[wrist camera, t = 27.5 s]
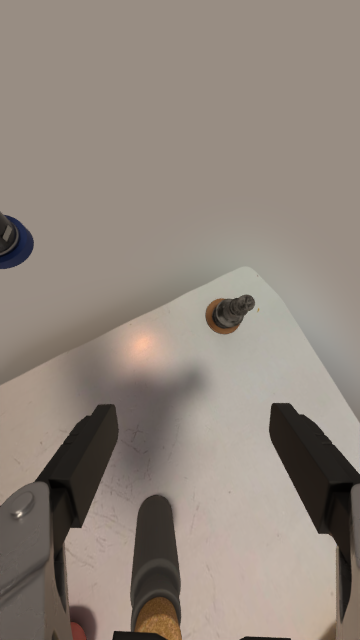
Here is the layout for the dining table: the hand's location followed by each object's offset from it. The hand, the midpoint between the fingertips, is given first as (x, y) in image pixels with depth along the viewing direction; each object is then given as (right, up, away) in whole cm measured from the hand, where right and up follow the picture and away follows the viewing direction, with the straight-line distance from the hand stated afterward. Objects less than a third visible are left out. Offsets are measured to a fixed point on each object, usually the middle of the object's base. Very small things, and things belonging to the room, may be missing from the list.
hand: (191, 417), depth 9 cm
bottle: (-5, -28, +22) cm, 36 cm away
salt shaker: (+9, +6, +31) cm, 33 cm away
